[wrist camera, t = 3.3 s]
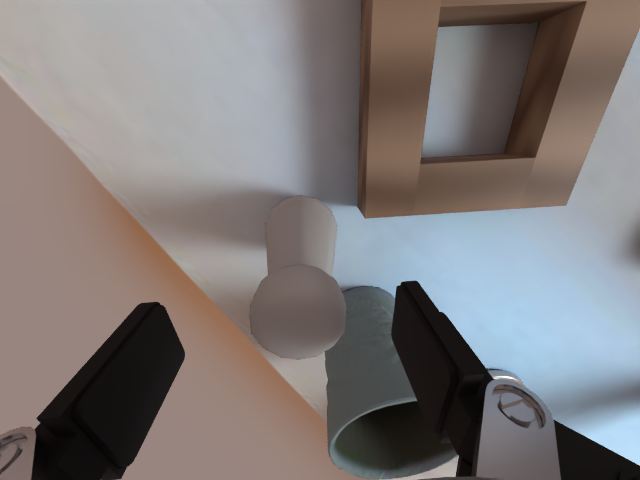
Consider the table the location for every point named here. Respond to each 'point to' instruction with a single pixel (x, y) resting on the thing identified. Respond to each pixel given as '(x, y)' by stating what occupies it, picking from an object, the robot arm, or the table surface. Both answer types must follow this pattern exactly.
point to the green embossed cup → (375, 398)
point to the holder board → (530, 117)
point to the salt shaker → (299, 282)
